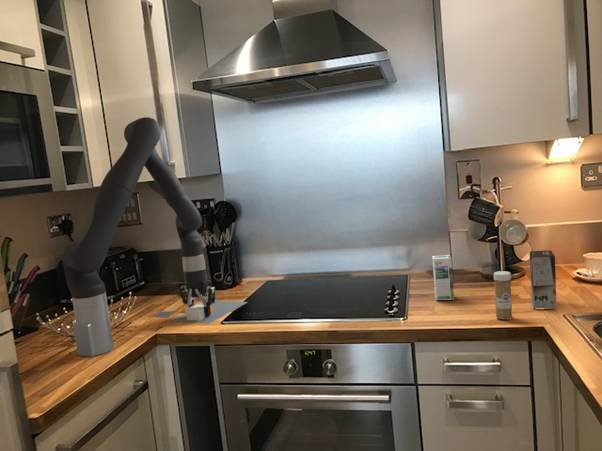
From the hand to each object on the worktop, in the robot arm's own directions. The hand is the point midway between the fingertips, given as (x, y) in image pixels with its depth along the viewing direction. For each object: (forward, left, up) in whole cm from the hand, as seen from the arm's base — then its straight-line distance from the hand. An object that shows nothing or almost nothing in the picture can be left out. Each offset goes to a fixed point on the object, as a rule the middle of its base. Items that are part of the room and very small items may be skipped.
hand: (200, 315), depth 174 cm
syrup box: (+33, -76, -1) cm, 83 cm away
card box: (0, 0, 0) cm, 0 cm away
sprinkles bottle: (+16, -96, -1) cm, 97 cm away
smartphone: (-4, +15, -1) cm, 16 cm away
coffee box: (+30, -106, -1) cm, 110 cm away
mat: (+6, 0, -1) cm, 6 cm away
